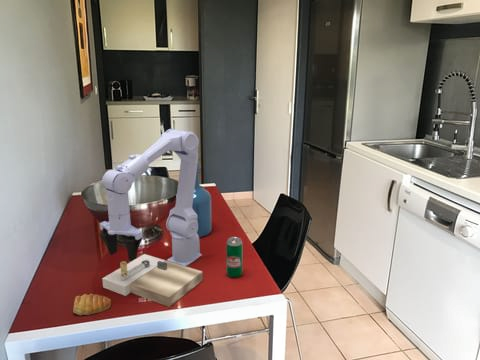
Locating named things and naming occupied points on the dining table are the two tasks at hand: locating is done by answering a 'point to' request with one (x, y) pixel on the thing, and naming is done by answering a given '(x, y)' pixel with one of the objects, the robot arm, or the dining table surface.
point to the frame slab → (124, 287)
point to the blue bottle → (202, 207)
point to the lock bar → (131, 272)
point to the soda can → (234, 257)
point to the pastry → (90, 304)
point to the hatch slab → (167, 283)
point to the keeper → (162, 265)
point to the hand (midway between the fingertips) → (122, 256)
